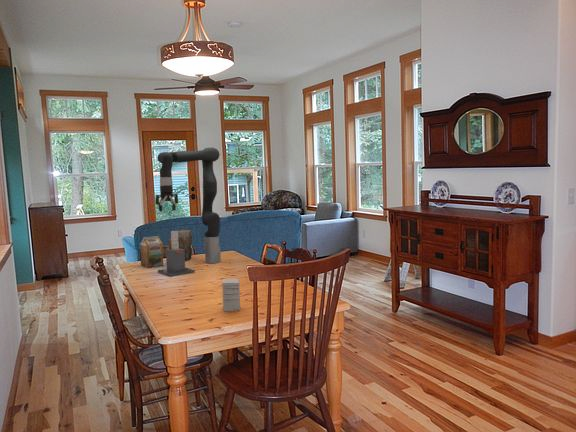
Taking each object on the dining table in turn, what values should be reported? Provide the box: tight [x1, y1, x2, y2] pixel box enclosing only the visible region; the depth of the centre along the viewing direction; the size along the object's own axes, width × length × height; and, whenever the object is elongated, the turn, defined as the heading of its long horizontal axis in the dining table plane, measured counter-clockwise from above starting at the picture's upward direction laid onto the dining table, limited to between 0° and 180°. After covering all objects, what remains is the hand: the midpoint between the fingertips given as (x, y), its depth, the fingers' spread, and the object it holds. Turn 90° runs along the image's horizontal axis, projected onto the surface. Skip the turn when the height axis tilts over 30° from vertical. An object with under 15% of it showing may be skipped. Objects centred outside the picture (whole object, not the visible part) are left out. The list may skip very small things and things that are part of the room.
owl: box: [177, 229, 193, 262], centre depth 330 cm, size 13×13×20 cm
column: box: [170, 230, 179, 250], centre depth 285 cm, size 3×3×18 cm
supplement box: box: [221, 278, 241, 312], centre depth 209 cm, size 7×7×13 cm
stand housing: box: [157, 248, 196, 278], centre depth 286 cm, size 16×16×14 cm
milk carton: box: [139, 235, 164, 269], centre depth 308 cm, size 11×11×19 cm
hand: (167, 211), depth 296 cm, fingers open, 8 cm apart
